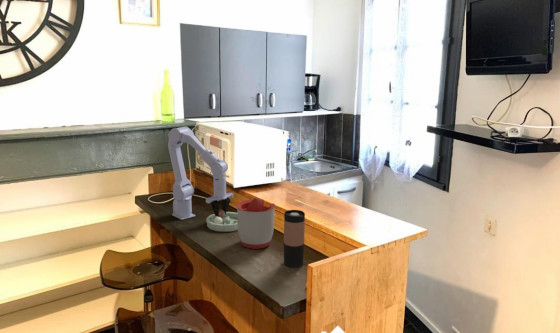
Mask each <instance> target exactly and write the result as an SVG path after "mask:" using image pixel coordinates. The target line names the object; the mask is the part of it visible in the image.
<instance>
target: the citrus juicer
mask: <svg viewBox="0 0 560 333" xmlns="http://www.w3.org/2000/svg"><path fill="white" fill-rule="evenodd" d="M236 208H237V209H236V211H237V212H236V213H237V217H238V230H237V233H238V236H239V241H240V242H241V244H242V246H243V247H245V248H247V249H253V250H257V249H263V248H266V247H268V246H269V245H270V244H271V242H272V238H273V235H274V229H275V213H276V211H275V208H276V205H275V203H274V202H273V203H271V204H269V206H266V205H265V200H264V199H260V198H259V199H258V198H257V197H255V198H253V199H245V200H242V201H239V202H238V203H237V204H236Z"/></svg>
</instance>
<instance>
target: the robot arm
mask: <svg viewBox="0 0 560 333" xmlns="http://www.w3.org/2000/svg"><path fill="white" fill-rule="evenodd" d="M167 137H168V143H167V148H168V153H169V157H170V161H171V167H172V171H173V177H174V180H175V182H174V183H173V185H172V189H173V190H172V197H173V198H174V199H173V201H172V202H173V203H172V210H173V212H172V214H171V216H173V217H175V218H177V219H179V220H186V219H190V218H194V217H196V214H194V213H192V212H193V210H192V197H193V196H192V195H194V192H195V188H194V187H193V185H192V182H191V180H190V179H188V178H187V177H188V176H187V174H186V169H185V164H184V159H183V155H182V149H181V147H182V145H183V144H189V145H190V146H191V147H192V149H195V151H197V152H198V154H200V159H202V161H203V162H204V163H205V164H206V165H207V166H208V167H209V168H210V172H211V174H212V178H213V179H212V180H213V195H211V196H209V197H207V198H205V203H207V204H210V206H211V208H212V210H213V214H215V215H216V216H219V209H220V204H221V209H222V210H224V212H225V214H226V212H228V208H229V205H230V204H231V199H230V198H233V199H234V195H235V194H234V192H227V179H226V178H227V176H226V175H227V173H226V172H227V171H228V170H229V169H228V168H229V167H228V163H227V162H226V161H225V160H222V159H221V158H219V157H218V156H217V155H216V154H215V153H214V151H213V150H211V149H207V148H206V147H205V146H204V144H203V143H201V141H200V140H199V139H198V138H197V136H195V134H194V131H193V130H191V129H190V128H189V127H188V126H181V127H177V128H176V127H174V128H171V129H170V131H168V133H167ZM218 201H220V202H218Z"/></svg>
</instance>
